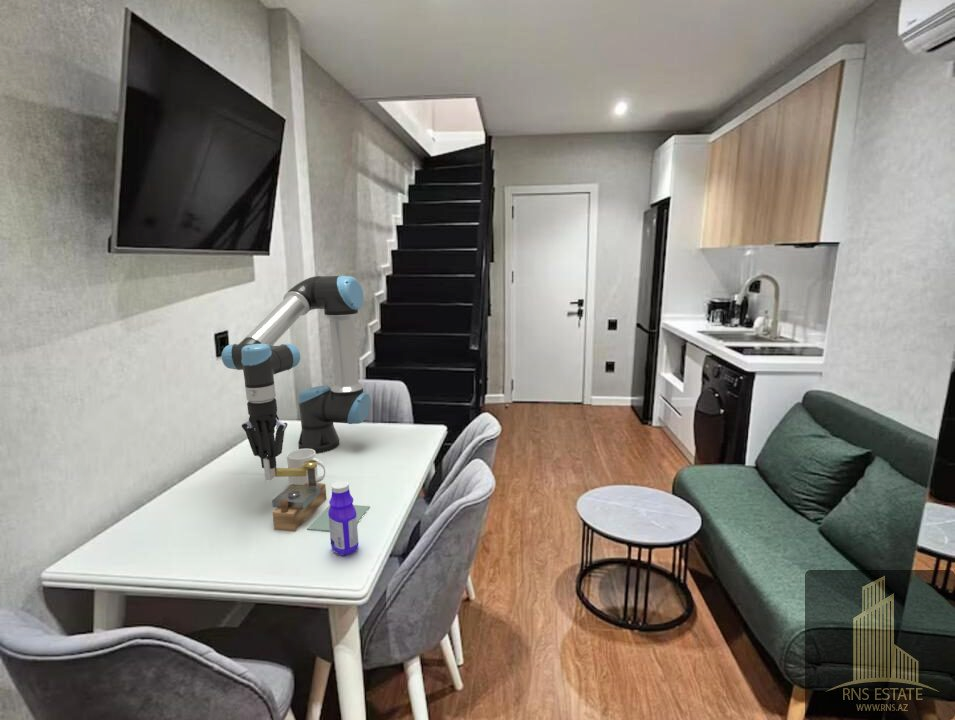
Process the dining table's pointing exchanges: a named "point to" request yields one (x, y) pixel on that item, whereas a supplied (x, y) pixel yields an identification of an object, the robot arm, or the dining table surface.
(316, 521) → the mat
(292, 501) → the grey knob plate
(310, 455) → the mug
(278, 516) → the plane body
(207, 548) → the dining table surface
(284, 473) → the lever
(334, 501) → the bottle
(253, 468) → the dining table surface
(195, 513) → the dining table surface
